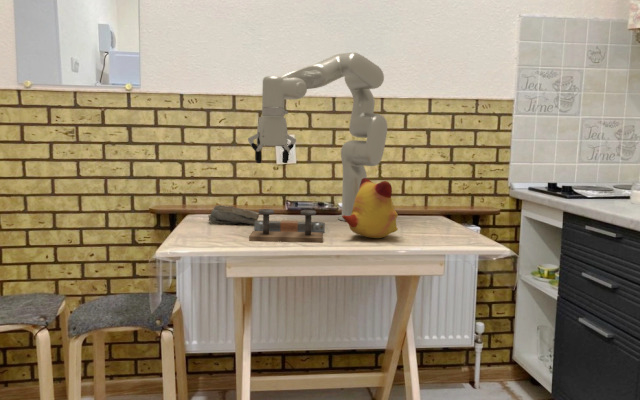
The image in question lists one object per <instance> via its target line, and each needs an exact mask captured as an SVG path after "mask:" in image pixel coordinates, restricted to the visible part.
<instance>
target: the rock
mask: <svg viewBox="0 0 640 400" xmlns="http://www.w3.org/2000/svg"><path fill="white" fill-rule="evenodd" d="M259 218H260V214H259V212H257V211H255V210H250V209H249V210H248V209H244V208H241V207H234V206H232V205H231V206H230V205H229V206H228V205H222V204H218V205H215V206H214V207H213V209H212V210H211V211H210V214H208V220H207V221H209V222H210V223H214V224H221V225H234V224H235V225H237V224H239V225H240V224H247V225H250V226H254V221H259Z"/></svg>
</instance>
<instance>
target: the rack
mask: <svg viewBox="0 0 640 400" xmlns="http://www.w3.org/2000/svg"><path fill="white" fill-rule="evenodd" d="M274 211H275V210H274V209H272V208H264V209H263V208H262V209H258V213H259V215H262V220H263V231H254V230H252V232H251V233H250V234H249V238H248V239H249V242H278V241H279V242H280V241H281V243H283V242H286V243H290V242H291V243H322V242H324V233H320V232H311V222H312V216H315V215H317V211H316V210H314V209H304V210H300V215H301V216H305V217H304V222H305V232H276V231H269V221H270V215H273V214H275V213H274Z"/></svg>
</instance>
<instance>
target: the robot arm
mask: <svg viewBox="0 0 640 400" xmlns="http://www.w3.org/2000/svg"><path fill="white" fill-rule="evenodd" d="M341 78H344V83H345V85H346V86H347V88H348V89H349V90H350V93H351V96H352V99H353V101H352V109H351V115H350V119H349V120H350V121H349V125H348V126H349V129H348V130H349V133H350V135H351V136H352V137H356V138H362V139H366V141H365V140H357V139H356V140H354V139H353V140H348V141H346V142H345V143H343V145H342V146H341V149H340V157H341V164H342V197H341V198H342V199H341V201H342V202H341V214H339V215H337V220H339V221H341V222H342V221H343V222H346V221H345V220H344V218H343V217H342V216H343V215H345V216H351V213H352V210H353V206H354V202H355V198H356V195H357V193H358V191H359V187H360V183H361V180H362V179H363V178H367V179H368V176H367V170H366V169H365V167H376V166H378V165H379V164H380V163H381V162H382V158H383V155H384V151H385V146H386V140H387V134H388V123H387V119H386V118H385V117H384V116H383V115H382V114H380V113H374V111H375V103H376V102H375V97H374V95H373V93H372V91H371V90H375V89H378V88H380V87H381V86H382V85H383V83H384V79H385V74H384V71H383V70H382V68H381V67H380V66H379V65H377V64H376V63H375V62H373V61H372V60H370V59H368V57H365V56H364V55H362V54H360V53H358V52H345V53H336V54H334V55H332V56H330V57H328V58H325V59H323V60H321V61H319V62H317V63H314V64H312V65H308V66H306V67H303V68H300V69H297V70H294V71H290V72H288V73H286V74H283V75H281V76H277V75H275V76H274V75H269V76H268V75H266V76H265V77H263V79H262V91H261V92H262V93H261V94H262V96H261V97H262V99H261V100H262V103H261V105H262V106H261V107H262V108H261V116H259V118H258V124H257V128H256V134H254V135H251V136H250V137H248V138H247V141H248V143H249V145H250V147H251V148H252V149H253V150H254V153H255V156H254V159H255V162H256V164H262V151H261V150H262V149H263V147H281V148H282V150H283V151H282V163H283V164H288V161H289V160H290V159H289V156H290V155H289V153H290V152H291V150H292V149H293V148H294V146H295V144H296V142H297V139H296V138H295V137H293V136H291V135H289V134H288V126H287V125H288V124H287V119H286V117H285V115H288V113H289V112H288V110H286V109H285V100H290V101H291V100H299V99H302V98H303V97H305V96H306V94H307V92H308V90H311V89H318V88H322V87H325V86H327V85H328V84H331V83H333V82H335V81H337V80H339V79H341ZM255 140H256V143H255V142H254V141H255ZM288 141H290V143H289V144H288Z"/></svg>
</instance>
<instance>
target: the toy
mask: <svg viewBox="0 0 640 400" xmlns="http://www.w3.org/2000/svg"><path fill="white" fill-rule="evenodd" d="M392 194H393V187H392V185H391V183H390V182H389V181H386V180H383V181H380V182H378V183H375V182H373V181H372V180H371V179H369V178H368V177H367V178H363V179H362V180H361V183H360V187H359V191H358V193H357V195H356V198H355V202H354V206H353V210H352V213H351V216H345V215H343V216H342V217H343V218H344V220H345V221H344V222H346V223H347V224H348V227H349V229H350V231H352V232H353V233H354V234H356V235H359V236H362V237H365V238H368V239H381V238H385V237H387V236H389V235H390V234H392V233H395V232H397V231H398V230H399V229H398V227H397V218H398V216H399V215H398V213H397V211H396V210H395V206H394V203H393V200H392Z"/></svg>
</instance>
